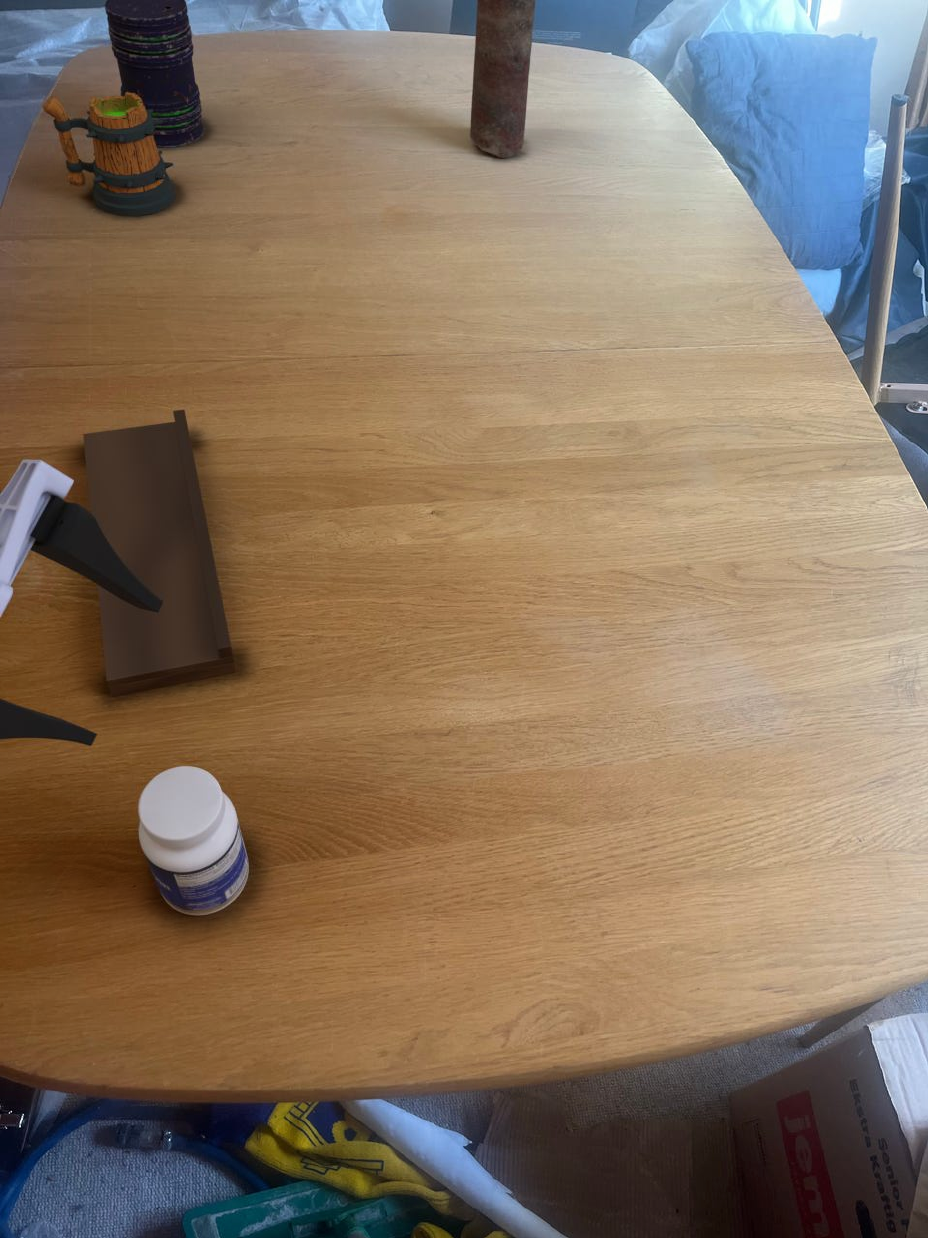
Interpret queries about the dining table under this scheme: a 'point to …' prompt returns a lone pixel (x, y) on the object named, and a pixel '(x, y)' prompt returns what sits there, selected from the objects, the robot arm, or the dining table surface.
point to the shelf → (157, 558)
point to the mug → (117, 155)
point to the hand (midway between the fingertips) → (119, 669)
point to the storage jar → (158, 64)
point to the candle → (501, 75)
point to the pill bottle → (192, 840)
